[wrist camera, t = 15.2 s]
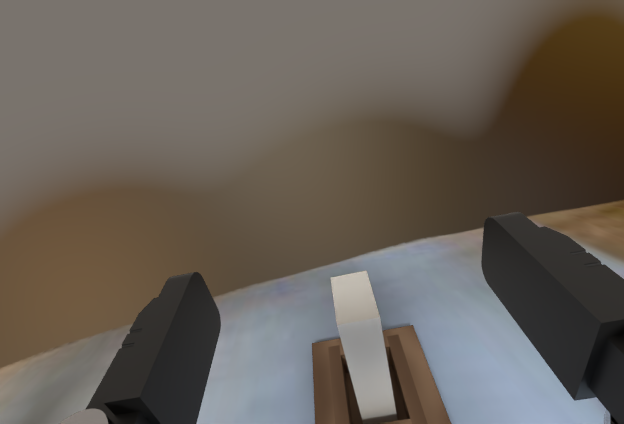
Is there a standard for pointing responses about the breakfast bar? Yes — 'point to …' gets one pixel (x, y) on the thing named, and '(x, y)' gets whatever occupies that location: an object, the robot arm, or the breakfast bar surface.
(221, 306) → the breakfast bar surface
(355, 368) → the clay bar
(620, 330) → the robot arm
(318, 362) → the walnut rack
